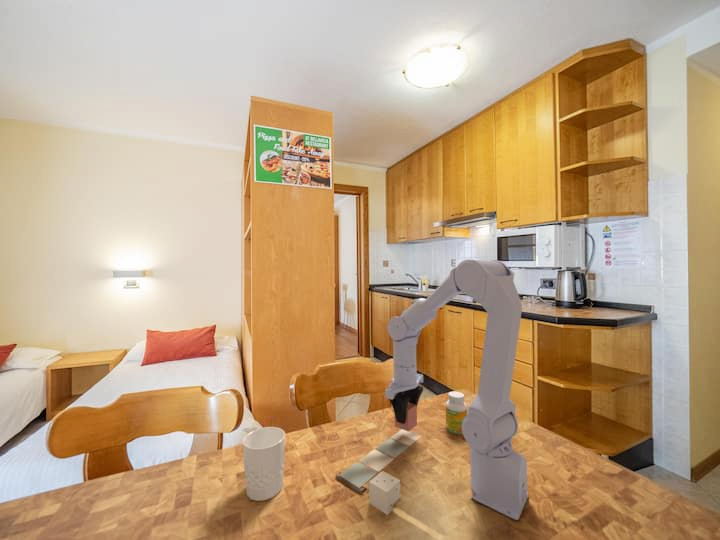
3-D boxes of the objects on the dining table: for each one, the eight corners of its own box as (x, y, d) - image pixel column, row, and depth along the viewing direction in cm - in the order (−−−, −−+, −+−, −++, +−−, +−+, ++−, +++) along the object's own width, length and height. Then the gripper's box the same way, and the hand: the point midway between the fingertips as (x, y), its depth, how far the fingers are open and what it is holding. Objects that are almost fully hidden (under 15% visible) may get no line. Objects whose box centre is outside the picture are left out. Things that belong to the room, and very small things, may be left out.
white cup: (266, 470, 64) (266, 423, 64) (294, 483, 60) (293, 433, 60) (234, 494, 57) (233, 441, 57) (262, 510, 53) (262, 453, 53)
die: (400, 502, 54) (400, 479, 55) (387, 515, 51) (387, 492, 52) (382, 491, 57) (382, 470, 57) (369, 504, 54) (369, 481, 54)
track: (424, 439, 74) (424, 436, 74) (361, 494, 56) (361, 490, 56) (400, 430, 79) (400, 427, 79) (335, 478, 61) (335, 474, 61)
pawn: (417, 425, 75) (416, 398, 75) (408, 431, 72) (407, 403, 72) (403, 420, 77) (403, 394, 77) (394, 426, 74) (394, 399, 74)
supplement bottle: (445, 435, 76) (445, 397, 77) (446, 425, 82) (445, 389, 82) (468, 438, 75) (467, 399, 75) (467, 427, 80) (466, 391, 80)
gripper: (406, 355, 83) (407, 404, 83) (374, 368, 72) (375, 424, 72) (429, 359, 78) (430, 411, 78) (398, 374, 67) (400, 434, 67)
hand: (405, 418), depth 74 cm, fingers closed on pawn, 4 cm apart
